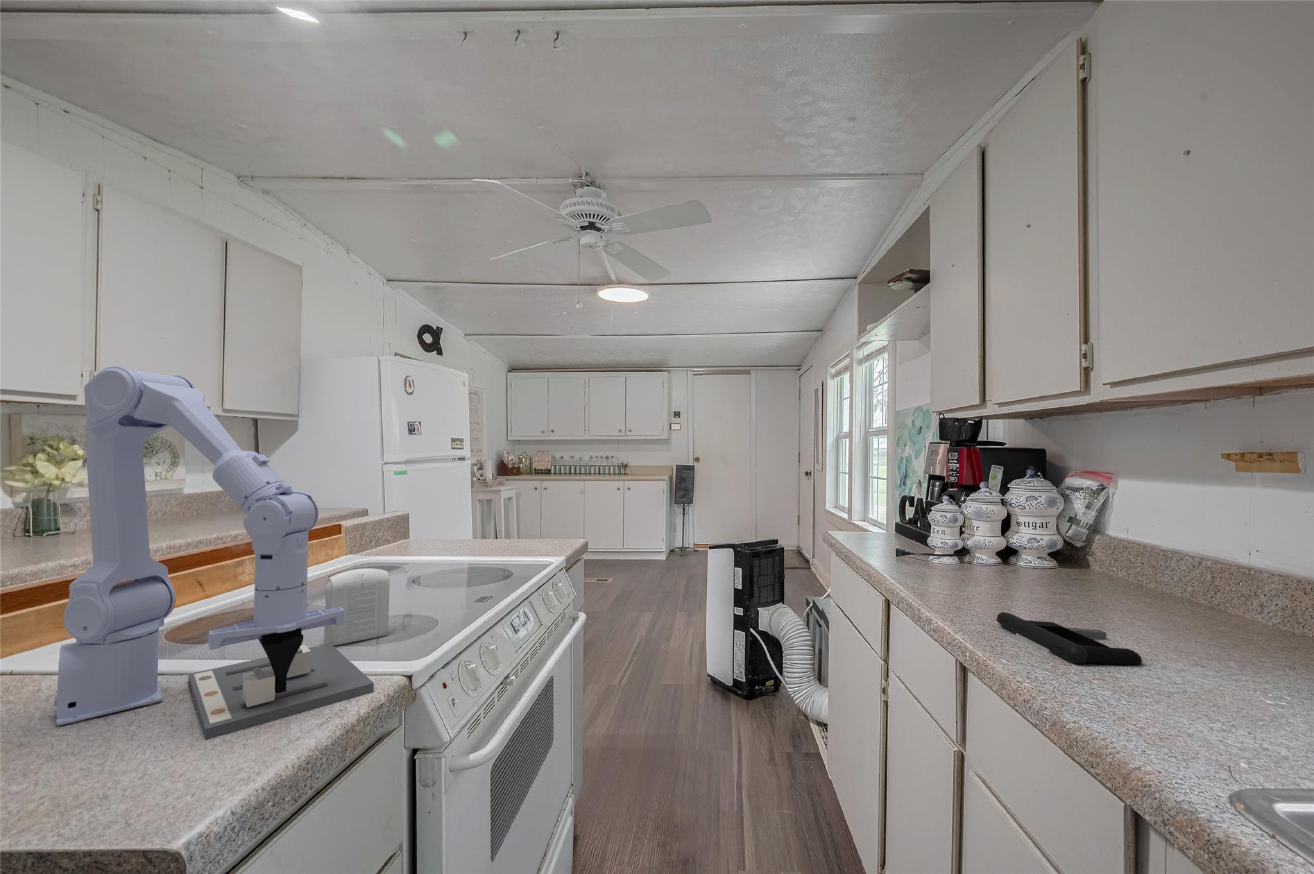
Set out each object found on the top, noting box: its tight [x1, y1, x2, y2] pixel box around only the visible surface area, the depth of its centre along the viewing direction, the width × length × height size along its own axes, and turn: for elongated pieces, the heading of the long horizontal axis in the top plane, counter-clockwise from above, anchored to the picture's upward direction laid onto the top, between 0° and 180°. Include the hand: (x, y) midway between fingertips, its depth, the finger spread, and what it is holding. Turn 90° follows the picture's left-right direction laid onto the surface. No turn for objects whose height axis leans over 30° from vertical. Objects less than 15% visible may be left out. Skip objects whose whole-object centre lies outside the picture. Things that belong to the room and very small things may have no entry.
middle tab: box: [286, 644, 311, 678], centre depth 78 cm, size 3×4×3 cm
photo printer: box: [323, 567, 391, 647], centre depth 97 cm, size 10×4×12 cm, turn 134°
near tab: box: [243, 667, 275, 707], centre depth 69 cm, size 3×4×3 cm
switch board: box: [188, 644, 375, 740], centre depth 77 cm, size 18×22×1 cm
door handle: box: [995, 611, 1143, 666], centre depth 94 cm, size 3×20×16 cm
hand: (279, 690), depth 71 cm, fingers closed
